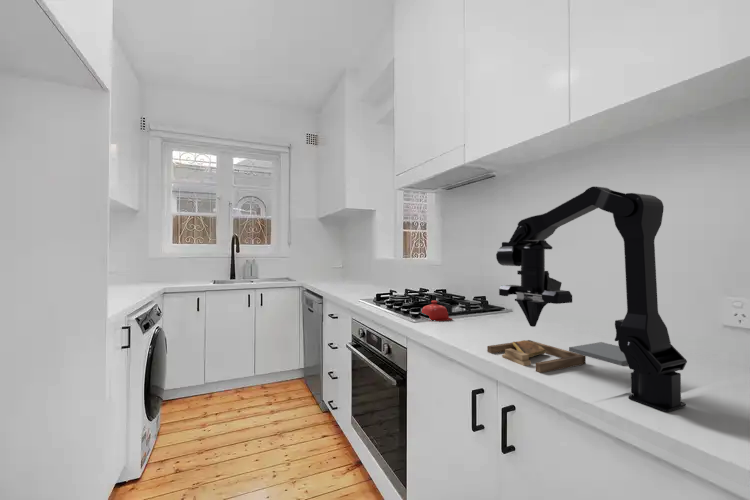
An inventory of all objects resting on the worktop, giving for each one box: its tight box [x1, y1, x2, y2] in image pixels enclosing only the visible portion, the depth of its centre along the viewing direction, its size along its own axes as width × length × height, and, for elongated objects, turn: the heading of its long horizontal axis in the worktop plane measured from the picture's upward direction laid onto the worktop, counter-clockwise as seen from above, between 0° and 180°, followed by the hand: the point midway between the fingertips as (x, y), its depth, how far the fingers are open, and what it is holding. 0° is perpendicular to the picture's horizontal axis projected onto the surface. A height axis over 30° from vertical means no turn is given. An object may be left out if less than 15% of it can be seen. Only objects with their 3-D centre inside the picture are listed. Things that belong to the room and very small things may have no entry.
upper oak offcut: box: [504, 349, 530, 361], centre depth 88 cm, size 6×2×2 cm, turn 20°
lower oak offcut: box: [501, 353, 532, 367], centre depth 88 cm, size 7×2×2 cm, turn 24°
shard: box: [512, 340, 546, 358], centre depth 93 cm, size 11×8×2 cm
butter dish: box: [421, 300, 453, 322], centre depth 142 cm, size 12×12×8 cm
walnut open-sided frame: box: [486, 339, 587, 374], centre depth 91 cm, size 17×16×2 cm
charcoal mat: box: [568, 341, 628, 366], centre depth 94 cm, size 14×14×1 cm
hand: (532, 326), depth 91 cm, fingers closed
